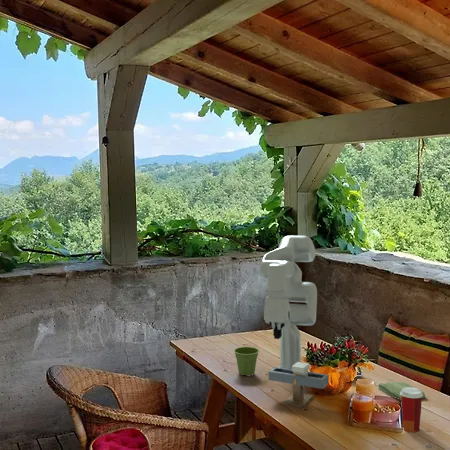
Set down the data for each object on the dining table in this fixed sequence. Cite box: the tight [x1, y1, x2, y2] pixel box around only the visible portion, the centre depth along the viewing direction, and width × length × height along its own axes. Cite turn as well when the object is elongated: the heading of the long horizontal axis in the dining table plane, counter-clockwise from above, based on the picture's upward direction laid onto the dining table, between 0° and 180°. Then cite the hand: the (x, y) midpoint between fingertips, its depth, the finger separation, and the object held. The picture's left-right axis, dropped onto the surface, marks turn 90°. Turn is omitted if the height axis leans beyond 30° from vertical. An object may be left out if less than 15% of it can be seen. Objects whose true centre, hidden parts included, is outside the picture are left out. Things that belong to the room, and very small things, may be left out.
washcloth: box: [377, 381, 426, 400], centre depth 240 cm, size 13×18×3 cm
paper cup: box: [400, 387, 423, 433], centre depth 204 cm, size 8×8×14 cm
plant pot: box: [233, 346, 260, 376], centre depth 266 cm, size 12×12×11 cm
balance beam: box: [268, 366, 330, 409], centre depth 232 cm, size 23×12×12 cm, turn 62°
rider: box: [292, 362, 310, 376], centre depth 231 cm, size 5×6×5 cm
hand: (277, 338), depth 236 cm, fingers closed
